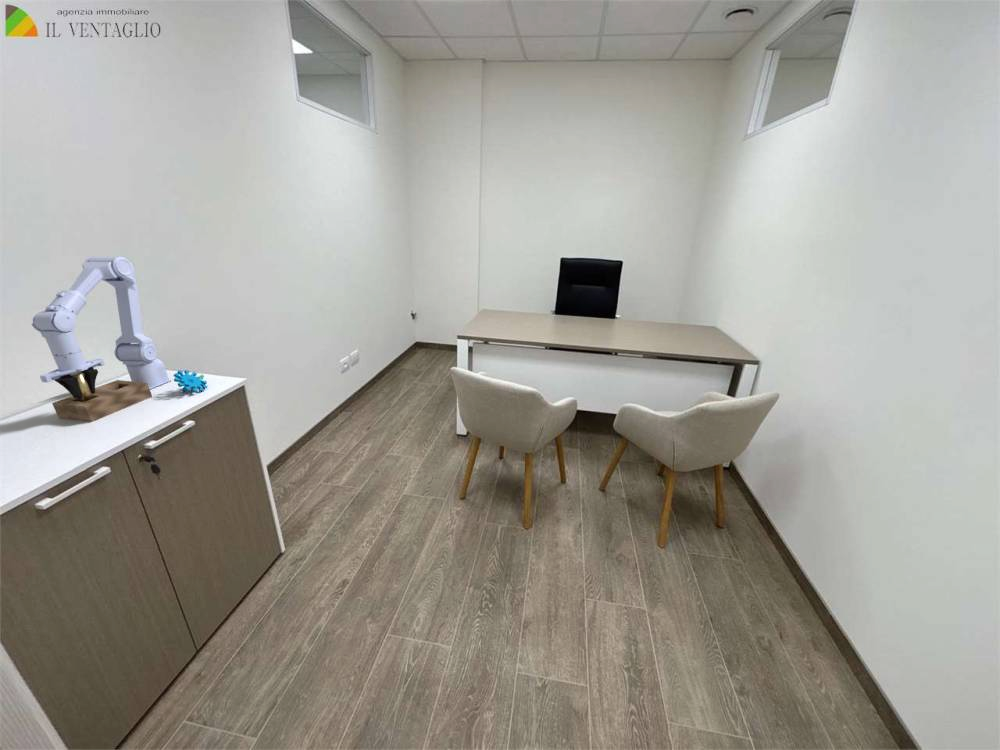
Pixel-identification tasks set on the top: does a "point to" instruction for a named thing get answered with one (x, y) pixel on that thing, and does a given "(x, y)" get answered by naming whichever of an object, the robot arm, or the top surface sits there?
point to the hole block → (103, 401)
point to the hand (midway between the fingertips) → (84, 395)
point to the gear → (190, 381)
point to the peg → (83, 387)
